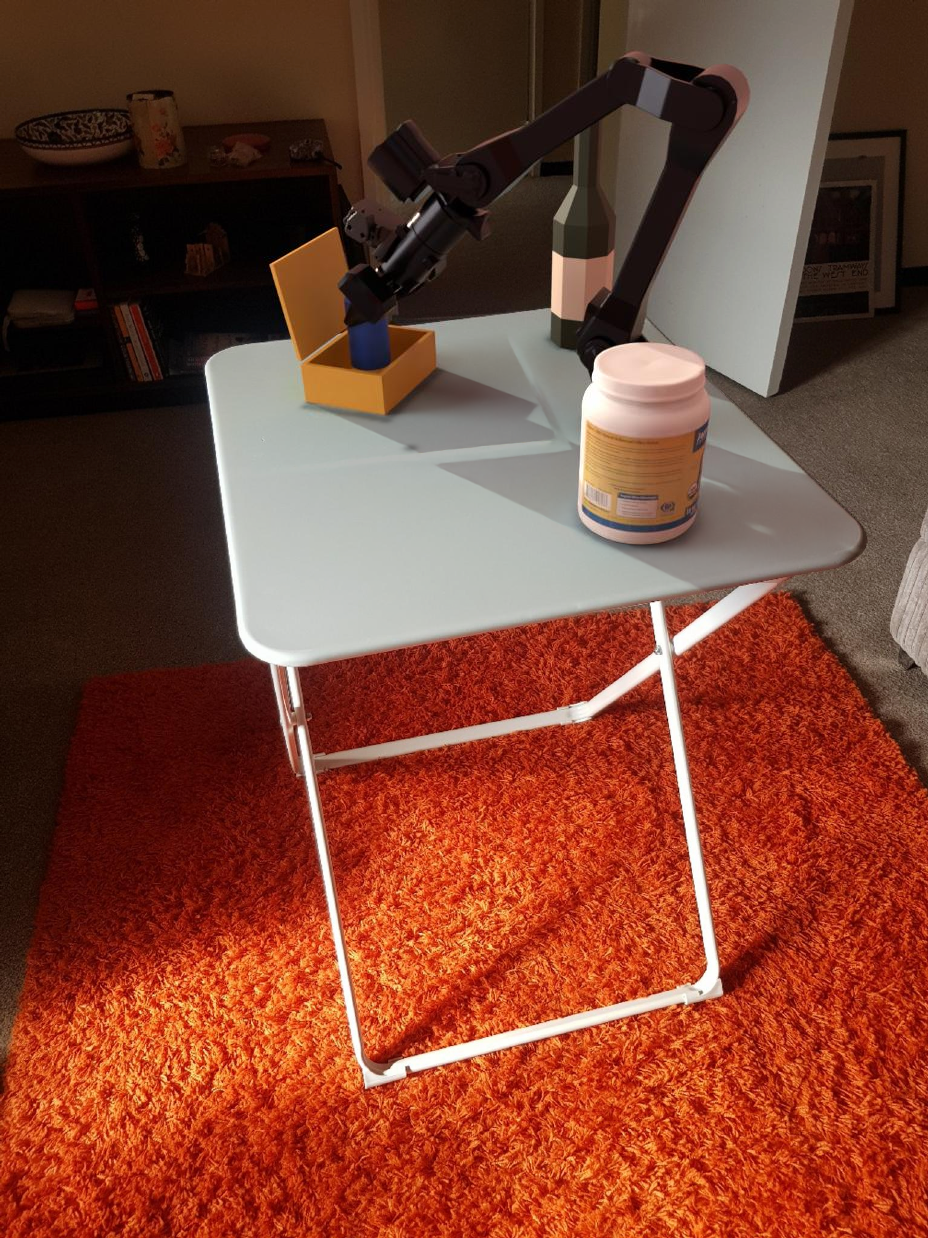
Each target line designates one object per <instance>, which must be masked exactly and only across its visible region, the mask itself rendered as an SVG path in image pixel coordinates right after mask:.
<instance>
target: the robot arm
mask: <svg viewBox="0 0 928 1238" xmlns="http://www.w3.org/2000/svg"><path fill="white" fill-rule="evenodd" d="M750 100H751V89H750V85H749V82H748V79H747V77H746V76H745V74H744V73H743V71H741V70H740V69H738V67H736V66H735V65H732V64H727V63H718V64H714V65H712V66H710V67H708V68H707V67H703V66H699V65H696V64H694V63H687V62H682V61H676V60H671V59H665V58H660V57H657V56H653V55H649V54H648V53H645V52H643V51H640V50H637V51H636V50H635V51H630V52H628V53H627V54H624V55H623V56H621V57H619V58H618V59H616V60H615V61H613V62H612V63H611V64H610V66H609V67H608V68H607V69H605V70H604V71H602V72H601V73H600V74H599V75H597V76H596V77H594V78H592V79H591V80H590V81H588V82H587V83H586V84H584V85H582V86H581V87H580V88H578V89H576V90H574V92H572V93H571V94H569V95H568V96H566V97H565V98H563V99H562V100H560V101H559V102H557V103H555V104H554V105H553V106H551V107H550V108H548V109H547V110H545V111H544V112H543V113H541V114H539V115H538V116H537V117H535V118H534V119H533V120H531V121H529V122H528V123H526V124H525V125H522V126H520V127H518V128H514V129H512V130H509V131H506V132H504V133H502V134H499V135H497V136H494V137H492V138H490V139H488V140H485V141H483V142H482V143H479V144H477V145H476V146H475V147H473V148H472V149H469V150H468V151H465V152H456V153H455V152H452V153H451V154H448V155H446V156H445V157H444V158H442V157H441V155H440V154H439V153H438V152H437V151H436V150H435V148H434V147H433V146H432V145H431V144H430V143H429V141H427V138H425V137H424V136H423V134H422V132H421V131H420V129H419V127H418V126H417V124H416V123H415V122H414V121H413V120H412V119H407V120H405V121H404V122H401V123H400V125H399V126H398V127H397V129H396V130H393V132H392V133H390V135H388V136H387V137H386V138H385V139H384V141H382V142H381V143H380V144H378V145H376V147H374V149H373V150H372V151H371V153H370V154H369V156H368V158H367V159H366V165H367V166H368V167H369V168H370V169H371V171H372V172H373V173H374V174H375V175H376V176H377V178H379V180H380V181H381V182H382V183H383V184H384V185H385V187H386V188H387V189H388V190H389V191H390V192H391V193H392V195H393V197H395V198H396V199H397V201H398V202H399V203H401V204H406V203H407V202H408V201H409V200H410V202H411V203H412V204H413V205H415V204H417V203H418V202H420V200H422V199H423V198H424V197H425V196H426V195H427V194H428V193H429V192H430V191H431V190H433V192H432V193H431V194H430V195H429V196H428V197H427V199H425V200H424V202H423V204H422V205H421V206H420V207H418V209H417V211H416V212H415V213H413V215H412V216H410V217H409V218H408V219H407V220H405V219H404V218H402V217H401V216H400V215H399V214H398V213H396V212H395V211H393V210H391V209H390V208H388V206H385V205H384V204H382V203H381V202H378V201H377V200H375V199H373V198H369V197H365V198H364V199H362V200H360V201H358V202H356V203H354V204H352V206H351V209H350V210H348V214H347V215H346V216H344V217H343V219H342V222H343V225H344V232H345V234H346V235H347V236H348V237H350V238H351V239H353V240H355V241H356V242H358V243H359V244H365V245H367V246H368V247H370V248H372V249H375V250H374V251H373V252H372V253H371V256H372V257H373V258H374V260H375V261H376V262H377V263H381V264H380V265H378V266H377V267H376V268H375V269H374V268H373V267H372V265H371V264H367V263H358V264H357V265H355V266H354V267H352V268H351V269H350V270H348V272H347V273H345V275H344V276H343V277H342V278H341V279H340V281H339V282H338V283H337V284H338V289H339V290H340V291H341V292H342V293H343V294H344V295H345V297H346V298H347V299H348V300H349V301H350V302H351V304H350V306H349V309H348V311H347V313H346V316H345V318H344V323H345V324H346V326H347V327H349V328H351V327H354V326H357V325H360V324H363V323H366V322H369V323H371V324H374V325H375V324H376V323H378V322H379V321H380V320H381V319H383V318H384V317H385V316H386V315H387V316H388V315H389V314H391V313H392V312H393V311H394V309H395V307H396V306H397V302H398V301H400V300H403V299H405V298H407V297H410V296H412V295H414V294H417V293H418V292H419V291H421V290H422V289H423V288H425V286H426V282H425V281H427V282H428V283H431V282H433V281H434V280H435V279H436V278H438V277H439V276H440V275H441V274H442V273H443V271H444V270H445V269H446V268H447V258H448V257H449V255H451V253H452V249H453V248H454V247H456V245H457V244H458V243H459V242H460V241H461V240H462V239H463V238H464V237H465V235H467V233H469V234H470V236H471V237H472V238H473V239H474V241H476V242H477V243H479V242H481V241H483V240H484V239H485V238H486V237H488V236H489V235H490V234H492V232H493V227H492V222H491V221H492V220H491V216H492V212H491V211H490V210H483V208H486V207H488V206H490V205H491V204H492V203H494V202H495V201H497V200H498V199H500V198H501V197H502V196H504V195H505V194H507V193H508V192H509V191H511V190H512V188H514V187H515V186H516V185H517V184H518V183H519V182H520V181H521V180H523V178H524V177H525V176H527V174H528V173H530V171H531V170H533V168H534V167H535V166H536V165H537V164H538V163H539V162H540V161H541V160H542V159H543V158H544V157H545V156H547V155H549V154H550V153H552V152H554V151H555V150H556V149H558V148H560V147H561V146H563V145H564V144H565V143H567V142H569V141H570V140H572V139H573V138H575V136H576V135H578V134H579V133H581V132H583V131H584V130H586V129H587V128H589V127H590V126H592V125H593V124H595V123H596V122H598V121H600V120H601V119H604V118H606V117H607V116H609V115H611V114H613V113H614V112H615V111H617V110H618V109H620V108H621V107H623V106H625V105H629V106H633V107H636V108H638V109H640V110H642V111H643V112H645V113H647V114H649V115H651V116H653V117H655V118H657V119H659V120H662V121H665V122H668V123H671V125H670V130H669V134H668V141H667V150H666V157H665V161H664V166H663V169H662V171H661V172H660V173H661V174H660V176H659V178H658V180H657V182H656V185H655V187H654V190H653V192H652V194H651V197H650V199H649V201H648V204H647V206H646V209H645V212H644V214H643V216H642V219H641V221H640V223H639V225H638V228H637V231H636V232H635V235H634V237H633V240H632V242H631V244H630V247H629V249H628V252H627V254H626V256H625V258H624V261H623V262H622V266H621V268H620V271H619V273H618V275H617V277H616V279H615V282H614V285H613V286H612V290H611V291H610V290H608V289H607V288H606V287H602V289H601V290H600V291H599V292H598V293H597V294H596V295H595V296H594V298H593V299H592V300H591V301H590V302H589V303H588V305H587V308H586V311H585V315H584V320H583V323H582V326H581V327H580V328H579V330H578V331H577V332H576V333H575V334H574V336H575V337H580V338H579V340H578V343H577V350H576V355H577V356H578V359H579V360H580V363H581V364H582V365H583V366H584V368H585V369H587V372H588V376H589V379H590V381H591V384H592V383H593V381H592V374H593V371H594V362H595V359H596V357H597V356H598V355H599V354H600V353H601V352H603V351H605V350H607V349H609V348H612V347H615V346H619V345H624V344H630V343H651V342H650V340H648V339H647V337H646V336H645V335H644V334H643V330H644V325H645V321H646V317H647V312H648V306H649V297H650V293H651V291H652V288H653V285H654V284H655V282H656V279H657V277H658V274H659V273H660V271H661V268H662V266H663V264H664V262H665V260H666V257H667V255H668V253H669V250H670V248H671V246H672V244H673V242H674V241H675V237H676V235H677V233H678V230H679V228H680V226H681V224H682V222H683V220H684V217H685V215H686V213H687V211H688V209H689V207H690V204H691V203H692V200H693V197H694V196H695V193H696V191H697V189H698V186H699V184H700V182H701V181H702V178H703V176H704V173H705V172H706V170H707V169H708V167H709V166H710V164H711V163H712V161H713V160H714V158H715V157H716V156H717V154H718V153H719V152H720V150H721V149H722V148H723V146H724V144H725V143H726V142H727V140H728V139H729V137H730V135H731V134H732V133H733V131H734V130H735V128H736V127H737V125H738V124H739V122H740V120H741V119H742V117H743V116H744V114H745V113H746V111H747V109H748V107H749V103H750Z"/></svg>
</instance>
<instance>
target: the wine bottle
mask: <svg viewBox="0 0 928 1238" xmlns="http://www.w3.org/2000/svg"><path fill="white" fill-rule="evenodd" d="M603 119H604V118H603ZM603 119H601V120H600V121H598V122H596V123H595V124H593V125H592V126H590V127H589V128H587V129H586V130H584V131H583V132H581V133H579V134H578V135H576V136H575V137H574V144H573V145H574V146H573V147H574V148H573V176H572V177H573V178H572V185H571V186H570V187H571V188H570V189H569V191H568V193H567V194H566V195H565V198H564V199H563V201H562V203H561V204H560V206H559V208H558V210H557V211H556V212H555V215H554V217H553V218H552V221H553V222H552V255H551V258H552V260H551V298H550V301H551V303H550V341H552V342H553V343H554V344H555V345H556V346H558V347H559V348H562V349H569V350H575V351H577V343H578V340H579V338H580V337H575V336H574V334H575V333H576V332H577V331H578V330H579V328H580V327H581V326H582V323H583V320H584V315H585V311H586V308H587V305H588V303H589V302H590V301H591V300H592V299H593V298H594V296H595V295H596V294H597V293H598V292H599V291H600V290H601V289H602V287H606V288H607V289H608V290H610V291H611V290H612V289H613V279H614V278H613V276H614V262H615V259H614V258H615V244H616V227H617V215H616V214H615V212H614V209H613V207H612V205H611V204H610V202H609V200H608V198H607V195H606V194H605V192H604V190H603V188H602V186H601V184H600V179H601V161H602V160H601V159H602V140H603V139H602V138H603V137H602V136H603Z"/></svg>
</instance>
